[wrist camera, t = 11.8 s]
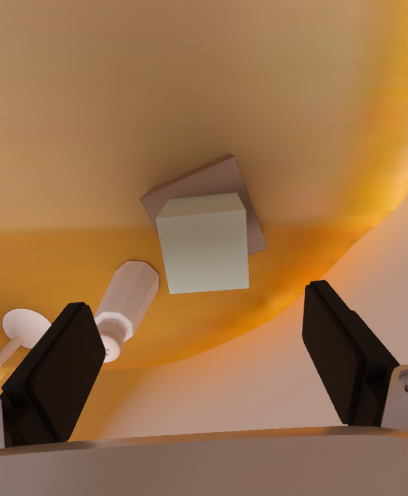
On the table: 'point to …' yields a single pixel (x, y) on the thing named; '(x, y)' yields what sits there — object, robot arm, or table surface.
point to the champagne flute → (22, 330)
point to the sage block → (204, 243)
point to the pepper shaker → (125, 304)
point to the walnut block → (208, 183)
